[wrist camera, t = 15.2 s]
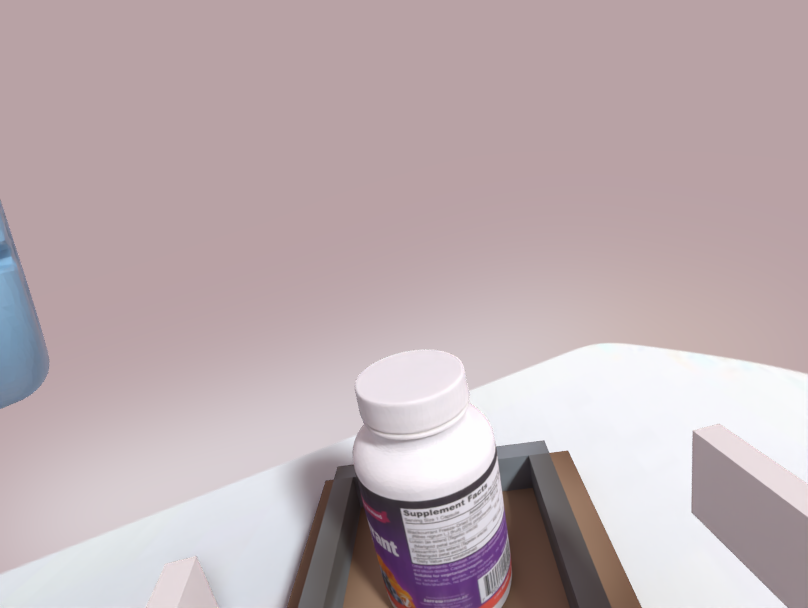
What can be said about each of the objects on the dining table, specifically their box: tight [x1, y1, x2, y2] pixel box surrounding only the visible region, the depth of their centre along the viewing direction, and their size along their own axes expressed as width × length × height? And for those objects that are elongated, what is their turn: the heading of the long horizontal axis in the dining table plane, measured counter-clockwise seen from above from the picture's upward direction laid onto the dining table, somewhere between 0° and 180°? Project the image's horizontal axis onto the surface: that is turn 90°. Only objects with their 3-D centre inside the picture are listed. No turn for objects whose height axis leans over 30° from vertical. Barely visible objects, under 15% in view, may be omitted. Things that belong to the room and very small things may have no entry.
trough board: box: [287, 441, 642, 608], centre depth 19 cm, size 14×14×3 cm
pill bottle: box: [353, 349, 512, 608], centre depth 18 cm, size 5×5×10 cm
